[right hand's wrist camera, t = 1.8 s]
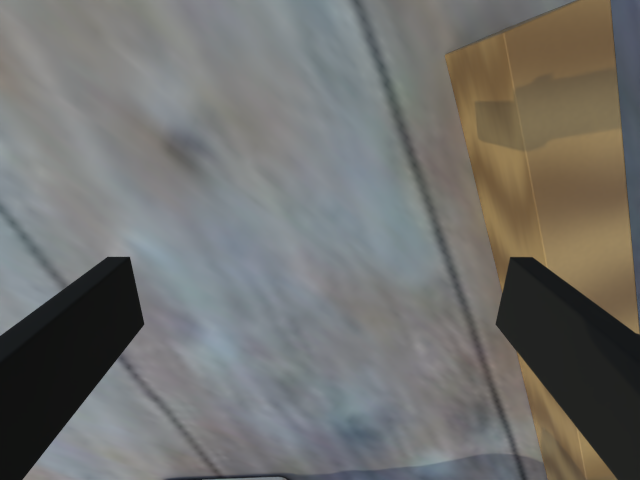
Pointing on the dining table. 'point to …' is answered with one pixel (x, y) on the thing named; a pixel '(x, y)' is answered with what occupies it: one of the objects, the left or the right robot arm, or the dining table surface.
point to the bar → (553, 177)
